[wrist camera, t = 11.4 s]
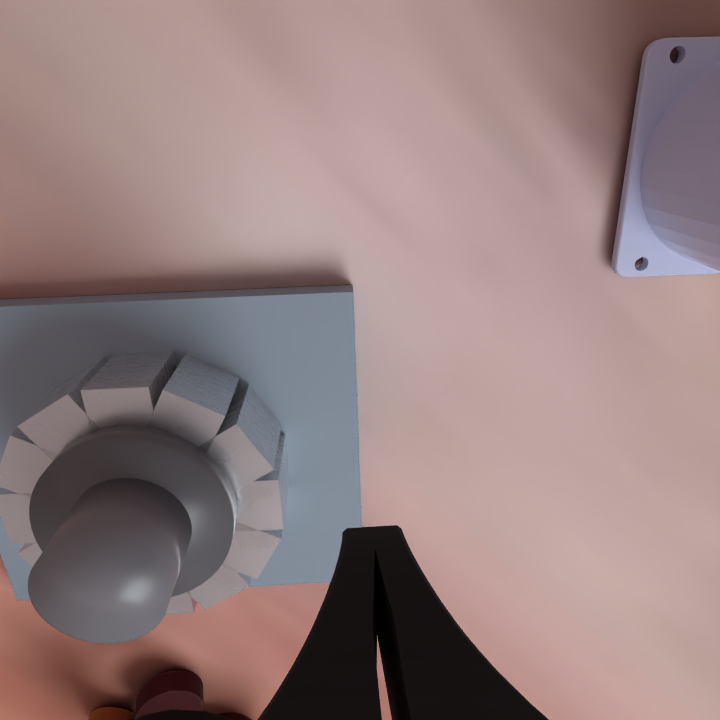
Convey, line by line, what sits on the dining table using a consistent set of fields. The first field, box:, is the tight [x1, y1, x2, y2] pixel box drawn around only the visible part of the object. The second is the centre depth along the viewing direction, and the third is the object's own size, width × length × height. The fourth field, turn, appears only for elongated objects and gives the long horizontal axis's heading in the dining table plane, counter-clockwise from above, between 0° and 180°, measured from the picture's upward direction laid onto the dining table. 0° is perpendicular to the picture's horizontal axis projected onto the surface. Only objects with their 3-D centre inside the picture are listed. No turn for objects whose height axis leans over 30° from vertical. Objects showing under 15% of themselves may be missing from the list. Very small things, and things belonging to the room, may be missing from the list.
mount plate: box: [0, 285, 362, 600], centre depth 23 cm, size 16×14×1 cm
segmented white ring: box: [0, 350, 290, 614], centre depth 21 cm, size 10×10×3 cm
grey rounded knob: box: [28, 426, 237, 643], centre depth 19 cm, size 7×7×7 cm
